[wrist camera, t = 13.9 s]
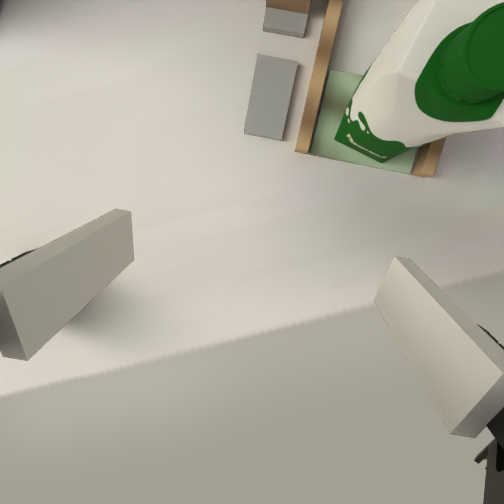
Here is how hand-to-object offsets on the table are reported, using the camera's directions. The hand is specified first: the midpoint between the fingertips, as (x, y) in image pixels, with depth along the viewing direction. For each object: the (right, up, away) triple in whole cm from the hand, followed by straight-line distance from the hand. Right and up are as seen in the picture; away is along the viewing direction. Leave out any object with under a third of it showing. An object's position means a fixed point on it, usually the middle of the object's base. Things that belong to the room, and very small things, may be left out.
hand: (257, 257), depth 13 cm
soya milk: (+15, +16, +19) cm, 29 cm away
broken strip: (+3, +26, +19) cm, 32 cm away
